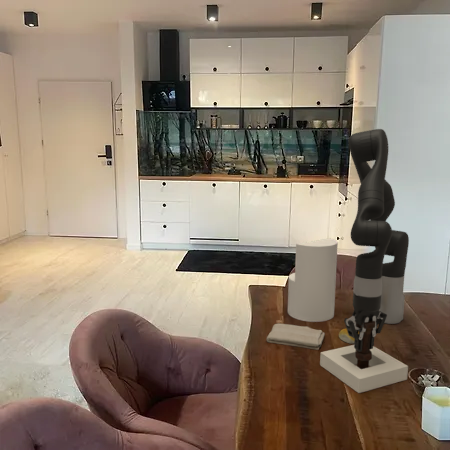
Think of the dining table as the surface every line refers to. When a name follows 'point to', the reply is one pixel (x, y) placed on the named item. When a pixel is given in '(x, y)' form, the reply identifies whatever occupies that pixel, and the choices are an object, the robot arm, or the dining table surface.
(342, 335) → the bread roll
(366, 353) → the bolt
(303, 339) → the washcloth
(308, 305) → the cylinder
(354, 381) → the collar block
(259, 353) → the dining table surface
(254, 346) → the dining table surface
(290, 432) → the dining table surface
